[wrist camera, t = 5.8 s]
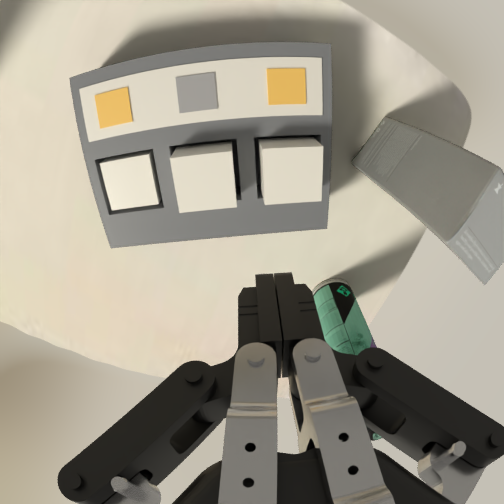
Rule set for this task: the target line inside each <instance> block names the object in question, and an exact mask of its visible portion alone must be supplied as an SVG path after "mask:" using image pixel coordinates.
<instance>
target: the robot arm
mask: <svg viewBox="0 0 504 504" xmlns="http://www.w3.org/2000/svg"><path fill="white" fill-rule="evenodd" d="M255 277H256V287H248V288H243V289H242V291H241V293H240V294H239V296H238V349H237V351H236V353H235V355H234V356H233V357H232V358H230V359H229V360H227V361H226V362H223V363H220V364H217V365H214V366H210V365H208V364H207V363H205V362H202V361H190V362H186V363H184V364H182V365H181V366H180V367H179V368H177V369H176V370H175V371H174V372H173V373H172V374H171V375H170V376H169V377H167V378H166V379H165V380H164V381H163V382H162V383H161V384H160V385H159V386H158V387H156V388H155V389H154V390H153V391H152V392H151V393H150V394H148V395H147V396H146V397H145V398H144V399H143V400H142V401H140V402H139V403H138V404H137V405H136V406H135V407H134V408H132V409H131V410H130V411H129V412H128V413H127V414H126V415H124V416H123V417H122V418H121V419H120V420H119V421H118V422H116V423H115V424H114V425H113V426H112V427H110V428H109V429H108V430H107V431H106V432H105V433H103V434H102V435H101V436H100V437H99V438H97V439H96V440H95V441H94V442H93V443H92V444H90V445H89V446H88V447H87V448H86V449H84V450H83V451H82V452H81V453H80V454H78V455H77V456H76V457H75V458H74V459H72V460H71V461H70V462H69V463H67V464H66V465H65V466H64V467H63V468H62V469H61V470H60V472H59V475H58V486H59V489H60V491H61V493H62V494H63V495H64V496H65V497H66V498H68V499H69V500H71V501H74V502H76V503H79V504H160V501H161V494H160V491H159V489H158V488H157V485H158V484H159V483H161V481H163V480H164V479H165V478H166V477H167V476H168V475H169V474H170V473H171V472H172V471H173V470H174V469H175V468H176V467H177V466H178V465H179V464H180V463H182V462H183V461H184V459H186V458H187V457H188V456H189V455H190V454H191V453H192V452H193V451H194V450H195V449H196V447H198V446H199V445H200V444H201V443H202V442H203V441H204V439H205V438H206V437H207V436H208V435H209V434H210V433H211V432H212V431H213V430H214V429H215V428H216V426H218V425H219V424H220V423H221V421H222V420H223V419H224V418H226V428H225V437H224V447H223V457H222V461H219V462H217V463H215V464H213V465H212V466H210V467H208V468H207V469H206V470H204V471H203V472H202V473H201V474H200V475H199V476H198V477H197V478H196V479H195V480H194V481H193V482H192V483H191V485H190V486H189V487H188V488H187V489H186V490H185V491H184V492H183V493H182V494H181V495H180V496H179V497H178V498H177V499H176V500H175V501H174V502H173V503H172V504H465V503H466V501H467V500H468V498H469V496H470V495H471V493H472V491H473V489H474V488H475V486H476V484H477V482H478V480H479V479H480V477H481V475H482V473H483V471H484V469H485V468H486V466H488V465H489V464H491V463H492V462H494V461H495V460H497V459H498V458H500V457H501V456H502V455H504V427H503V426H502V425H501V424H499V423H497V422H496V421H494V420H493V419H491V418H490V417H488V416H486V415H485V414H483V413H481V412H480V411H479V410H477V409H475V408H474V407H472V406H471V405H469V404H467V403H466V402H464V401H463V400H461V399H460V398H458V397H456V396H455V395H453V394H452V393H450V392H449V391H447V390H445V389H444V388H442V387H440V386H439V385H437V384H436V383H434V382H433V381H431V380H430V379H428V378H427V377H425V376H423V375H422V374H420V373H419V372H417V371H416V370H414V369H413V368H411V367H410V366H408V365H406V364H405V363H403V362H402V361H400V360H399V359H397V358H396V357H394V356H393V355H391V354H389V353H388V352H386V351H385V350H383V349H380V348H375V347H370V348H366V349H364V350H362V351H361V352H360V353H359V354H358V355H353V354H346V353H341V352H338V351H336V350H334V349H333V348H331V347H330V346H329V345H328V344H327V342H326V341H325V338H324V334H323V331H322V327H321V323H320V319H319V315H318V312H317V308H316V304H315V300H314V297H313V293H312V291H311V290H310V289H309V288H308V287H307V286H306V284H294V280H293V276H292V273H291V272H290V273H274V278H273V274H259V275H255ZM281 371H282V378H283V377H288V378H289V385H290V388H289V397H290V401H291V406H292V410H293V415H294V420H295V424H296V429H297V434H298V446H299V454H286V453H279V452H277V387H278V378H281ZM366 426H367V427H368V428H370V429H371V430H372V431H374V432H375V433H377V434H378V435H379V436H381V437H382V438H384V439H385V440H386V441H388V442H389V443H391V444H392V445H394V446H395V447H396V448H398V449H399V450H401V451H402V452H404V453H405V454H407V455H408V456H410V457H411V458H413V459H414V460H416V461H417V462H418V474H419V477H420V478H421V479H422V480H423V481H425V482H426V483H424V482H423V481H421V480H420V479H419V478H417V477H416V476H414V475H413V474H412V473H410V472H409V471H408V470H406V469H405V468H404V467H402V466H401V465H399V464H398V463H397V462H395V461H394V460H393V459H392V458H390V457H389V456H387V455H386V454H385V453H383V452H381V451H379V450H377V449H375V448H373V446H372V443H371V440H370V437H369V434H368V431H367V428H366Z"/></svg>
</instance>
